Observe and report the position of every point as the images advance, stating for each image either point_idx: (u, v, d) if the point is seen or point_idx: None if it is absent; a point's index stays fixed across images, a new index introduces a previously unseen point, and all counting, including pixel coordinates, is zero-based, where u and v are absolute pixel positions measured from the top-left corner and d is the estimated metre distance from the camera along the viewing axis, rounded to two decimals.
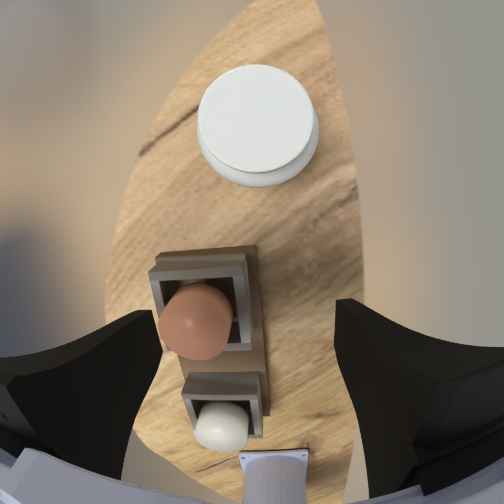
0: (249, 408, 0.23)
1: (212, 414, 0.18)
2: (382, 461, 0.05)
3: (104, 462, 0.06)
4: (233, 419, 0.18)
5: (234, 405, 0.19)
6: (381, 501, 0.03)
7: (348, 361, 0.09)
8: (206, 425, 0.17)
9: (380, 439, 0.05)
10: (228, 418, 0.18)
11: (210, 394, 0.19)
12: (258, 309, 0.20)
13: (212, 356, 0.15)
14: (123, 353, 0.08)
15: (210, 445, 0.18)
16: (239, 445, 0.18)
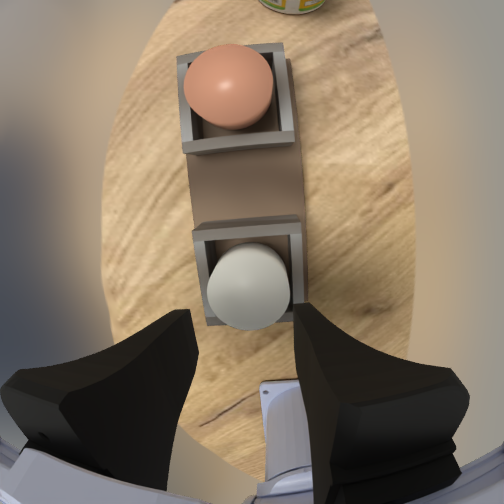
0: None
1: (237, 251, 0.14)
2: (317, 473, 0.05)
3: (153, 474, 0.05)
4: (269, 256, 0.14)
5: (268, 247, 0.15)
6: None
7: (300, 366, 0.09)
8: (228, 263, 0.13)
9: (316, 450, 0.05)
10: (262, 253, 0.14)
11: (234, 227, 0.15)
12: (295, 121, 0.16)
13: (250, 113, 0.11)
14: (167, 356, 0.08)
15: (230, 316, 0.14)
16: (277, 310, 0.14)
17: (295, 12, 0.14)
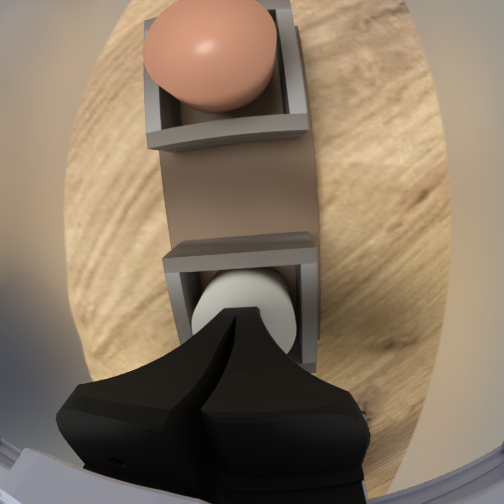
0: None
1: (229, 275, 0.11)
2: None
3: None
4: (270, 282, 0.11)
5: (268, 268, 0.12)
6: (381, 501, 0.03)
7: None
8: (217, 293, 0.10)
9: None
10: (261, 278, 0.11)
11: (221, 253, 0.10)
12: (307, 105, 0.11)
13: (241, 82, 0.07)
14: (228, 356, 0.08)
15: None
16: None
17: None
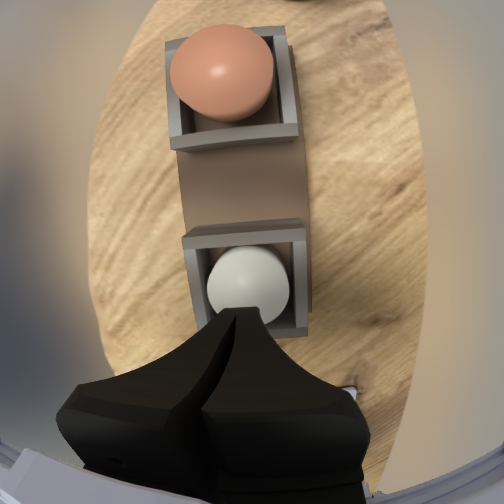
0: None
1: (237, 248, 0.14)
2: None
3: None
4: (268, 253, 0.14)
5: (267, 244, 0.15)
6: (381, 501, 0.03)
7: None
8: (228, 260, 0.13)
9: None
10: (261, 250, 0.14)
11: (229, 233, 0.13)
12: (299, 114, 0.14)
13: (246, 102, 0.09)
14: (228, 356, 0.08)
15: None
16: (276, 306, 0.14)
17: None
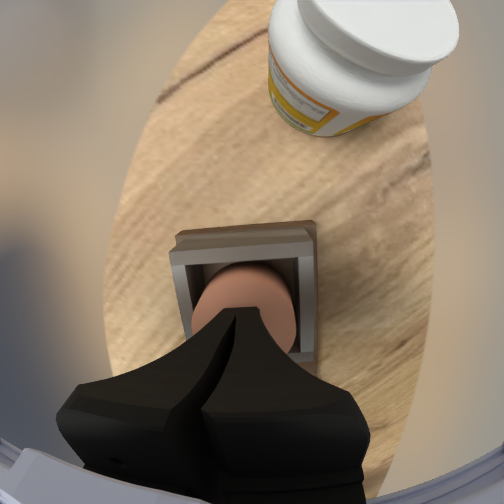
0: None
1: None
2: None
3: None
4: None
5: None
6: (381, 501, 0.03)
7: None
8: None
9: None
10: None
11: None
12: (315, 305, 0.15)
13: None
14: (229, 356, 0.08)
15: None
16: None
17: None
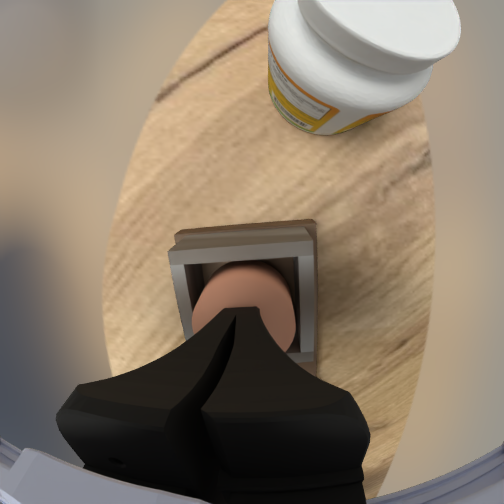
0: None
1: None
2: None
3: None
4: None
5: None
6: (381, 501, 0.03)
7: None
8: None
9: None
10: None
11: None
12: (315, 305, 0.15)
13: None
14: (229, 356, 0.08)
15: None
16: None
17: (326, 134, 0.13)
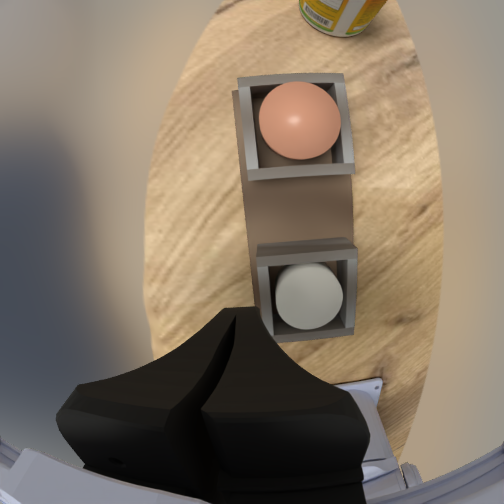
0: None
1: (300, 264, 0.17)
2: None
3: None
4: (326, 268, 0.17)
5: None
6: (381, 501, 0.03)
7: None
8: (295, 275, 0.16)
9: None
10: (320, 266, 0.17)
11: (297, 253, 0.16)
12: None
13: (321, 151, 0.13)
14: (229, 356, 0.08)
15: (294, 318, 0.17)
16: (331, 311, 0.17)
17: (341, 35, 0.15)
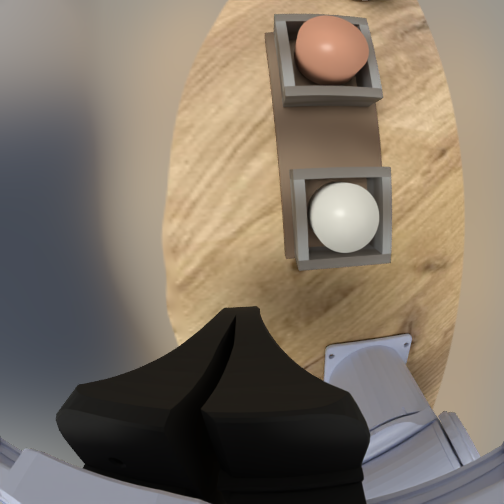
0: None
1: (334, 183, 0.16)
2: None
3: None
4: None
5: None
6: (381, 501, 0.03)
7: None
8: (332, 189, 0.15)
9: None
10: None
11: (334, 167, 0.15)
12: None
13: (354, 70, 0.12)
14: (228, 356, 0.08)
15: (331, 238, 0.16)
16: (368, 233, 0.16)
17: None
